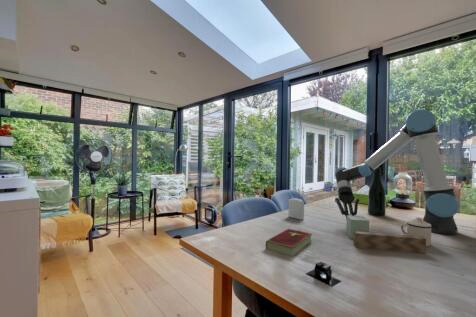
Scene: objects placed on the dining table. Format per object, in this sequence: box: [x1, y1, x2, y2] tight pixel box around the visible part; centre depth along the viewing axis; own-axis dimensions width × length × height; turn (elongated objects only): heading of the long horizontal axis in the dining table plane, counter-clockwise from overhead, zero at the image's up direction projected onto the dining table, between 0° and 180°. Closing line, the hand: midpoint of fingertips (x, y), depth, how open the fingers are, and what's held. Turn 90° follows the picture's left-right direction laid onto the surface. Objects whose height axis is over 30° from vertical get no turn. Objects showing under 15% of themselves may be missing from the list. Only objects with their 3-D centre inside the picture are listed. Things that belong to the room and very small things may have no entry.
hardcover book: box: [265, 228, 313, 257], centre depth 99 cm, size 12×21×4 cm, turn 143°
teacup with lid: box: [400, 216, 432, 247], centre depth 105 cm, size 12×9×12 cm
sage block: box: [345, 215, 370, 239], centre depth 112 cm, size 8×8×9 cm
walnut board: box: [353, 231, 427, 255], centre depth 96 cm, size 26×3×6 cm, turn 78°
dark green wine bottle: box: [367, 166, 387, 217], centre depth 158 cm, size 10×10×33 cm
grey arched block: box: [288, 197, 305, 221], centre depth 144 cm, size 10×4×12 cm, turn 39°
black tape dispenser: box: [305, 261, 342, 288], centre depth 72 cm, size 12×7×5 cm, turn 38°
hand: (351, 226), depth 119 cm, fingers closed
